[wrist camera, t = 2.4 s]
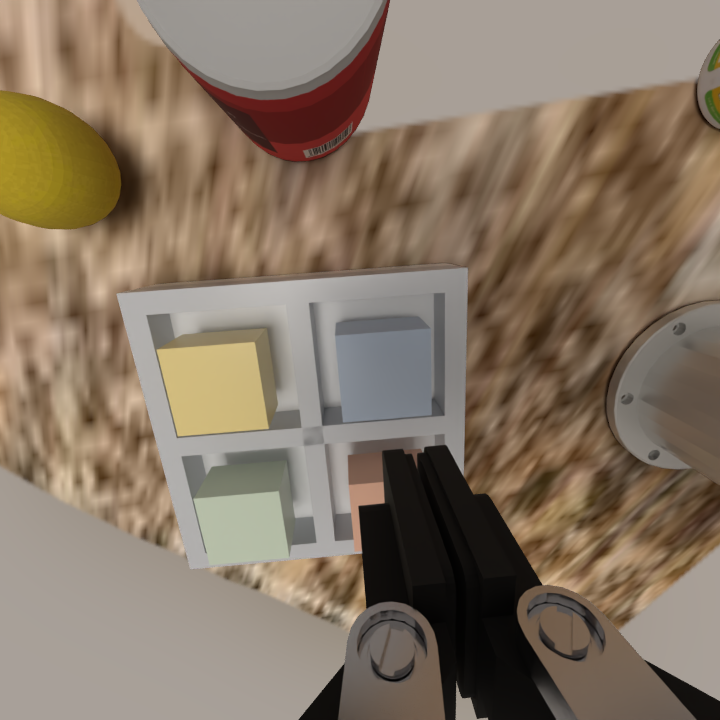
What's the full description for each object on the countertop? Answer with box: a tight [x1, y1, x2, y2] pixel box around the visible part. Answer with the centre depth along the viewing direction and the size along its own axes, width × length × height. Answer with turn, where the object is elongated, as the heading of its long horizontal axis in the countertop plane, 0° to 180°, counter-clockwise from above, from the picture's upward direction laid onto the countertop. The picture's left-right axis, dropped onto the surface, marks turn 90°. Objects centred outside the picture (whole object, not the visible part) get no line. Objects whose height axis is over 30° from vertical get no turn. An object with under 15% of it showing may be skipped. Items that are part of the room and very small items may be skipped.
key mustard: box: [157, 328, 278, 436], centre depth 20 cm, size 5×5×3 cm
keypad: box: [117, 263, 468, 569], centre depth 24 cm, size 18×18×4 cm
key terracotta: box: [348, 449, 422, 552], centre depth 22 cm, size 5×5×3 cm
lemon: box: [0, 91, 121, 229], centre depth 17 cm, size 6×6×8 cm
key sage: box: [193, 460, 295, 565], centre depth 22 cm, size 5×5×3 cm
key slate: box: [335, 316, 432, 423], centre depth 20 cm, size 5×5×3 cm
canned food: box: [137, 0, 390, 161], centre depth 15 cm, size 8×8×11 cm
